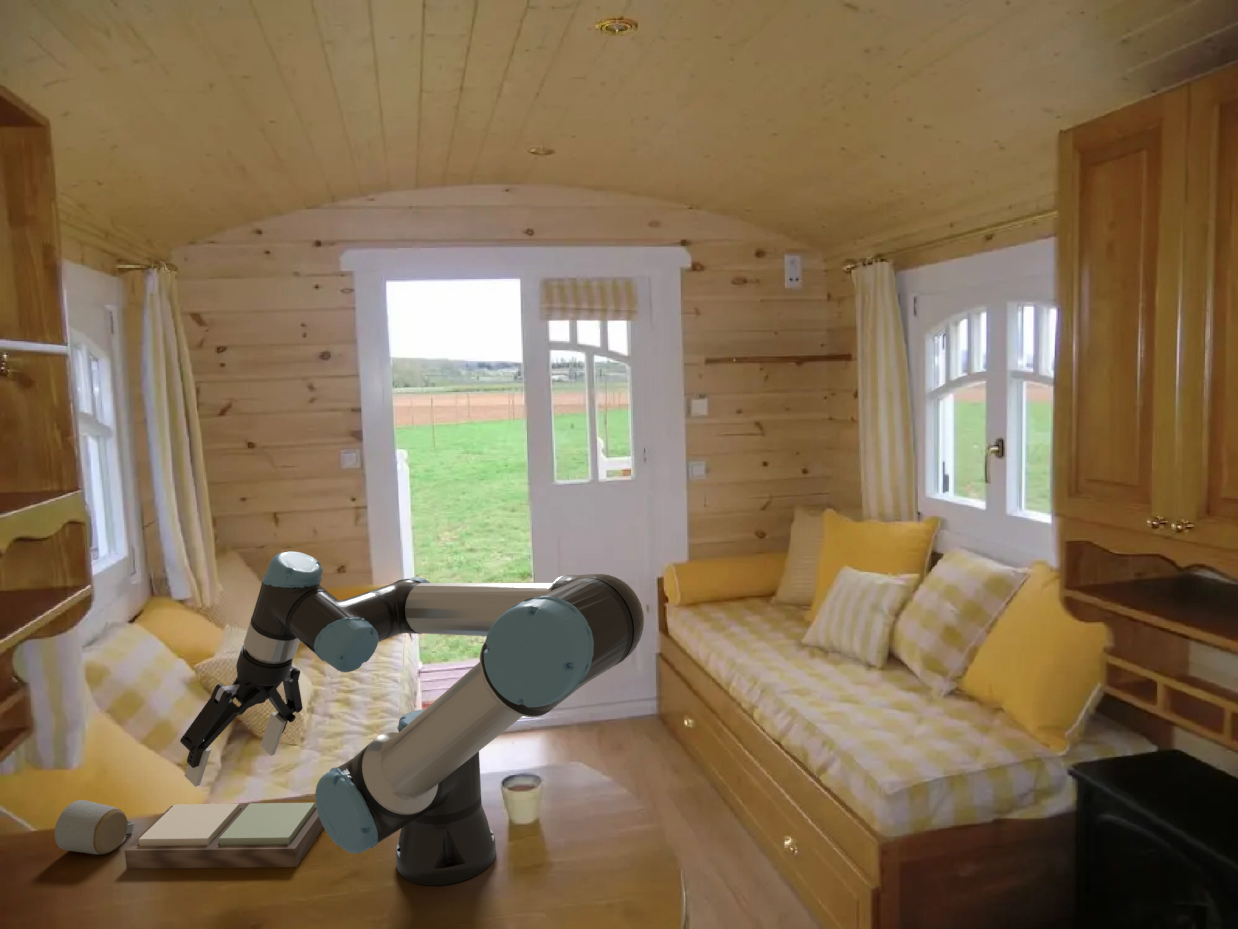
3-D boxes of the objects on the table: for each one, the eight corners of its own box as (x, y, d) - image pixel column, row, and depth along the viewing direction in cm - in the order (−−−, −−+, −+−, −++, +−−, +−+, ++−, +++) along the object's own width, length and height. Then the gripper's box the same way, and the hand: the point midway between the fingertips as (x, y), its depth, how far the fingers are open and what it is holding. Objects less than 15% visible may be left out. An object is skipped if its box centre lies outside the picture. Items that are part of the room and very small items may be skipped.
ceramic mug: (98, 865, 147) (93, 818, 146) (55, 859, 149) (50, 813, 148) (148, 831, 157) (144, 787, 156) (107, 826, 159) (103, 783, 158)
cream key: (240, 819, 157) (239, 803, 156) (209, 855, 146) (207, 838, 146) (176, 820, 157) (174, 804, 157) (140, 856, 146) (138, 839, 146)
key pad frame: (328, 820, 158) (327, 803, 157) (296, 867, 144) (295, 848, 143) (173, 822, 159) (171, 805, 159) (126, 868, 145) (124, 850, 145)
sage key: (316, 818, 156) (314, 802, 156) (290, 854, 145) (288, 837, 145) (251, 819, 157) (249, 803, 156) (220, 855, 146) (219, 838, 145)
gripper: (317, 619, 151) (281, 726, 157) (177, 656, 129) (141, 779, 135) (348, 644, 148) (310, 752, 153) (210, 687, 126) (172, 811, 132)
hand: (231, 765), depth 144 cm, fingers open, 13 cm apart
